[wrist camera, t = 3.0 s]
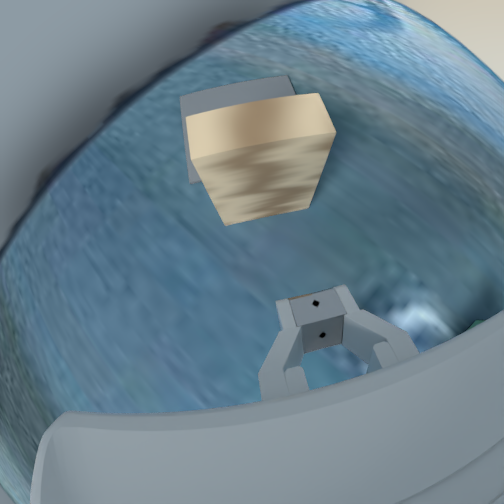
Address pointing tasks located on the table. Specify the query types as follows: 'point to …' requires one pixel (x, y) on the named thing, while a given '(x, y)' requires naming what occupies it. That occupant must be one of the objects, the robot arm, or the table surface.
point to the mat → (229, 103)
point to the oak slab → (261, 155)
